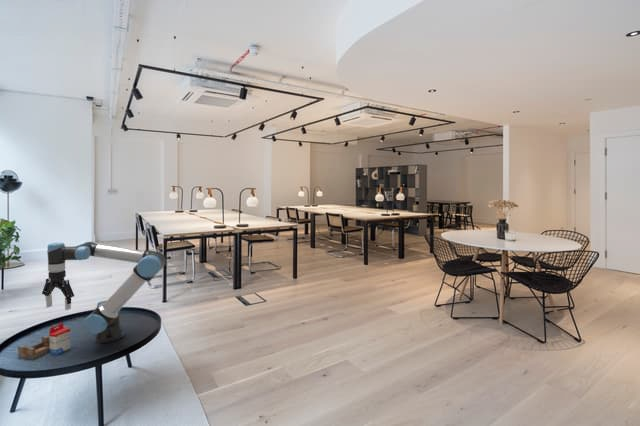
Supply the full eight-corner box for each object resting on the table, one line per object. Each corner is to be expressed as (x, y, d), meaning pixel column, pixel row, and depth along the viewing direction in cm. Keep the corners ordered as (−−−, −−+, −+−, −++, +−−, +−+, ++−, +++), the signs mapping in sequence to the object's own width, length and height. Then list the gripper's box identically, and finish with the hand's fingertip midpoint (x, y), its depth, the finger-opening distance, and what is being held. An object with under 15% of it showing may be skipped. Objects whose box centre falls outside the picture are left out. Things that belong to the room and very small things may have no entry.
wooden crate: (58, 348, 192) (57, 338, 192) (33, 360, 179) (32, 349, 179) (44, 346, 195) (43, 336, 194) (18, 357, 182) (18, 346, 181)
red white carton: (56, 355, 185) (55, 329, 184) (49, 354, 186) (48, 328, 185) (71, 347, 193) (70, 323, 192) (64, 346, 194) (63, 322, 193)
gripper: (81, 271, 187) (82, 308, 189) (46, 267, 193) (48, 303, 195) (67, 274, 180) (69, 313, 181) (32, 270, 186) (34, 307, 188)
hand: (58, 308), depth 188 cm, fingers open, 13 cm apart
